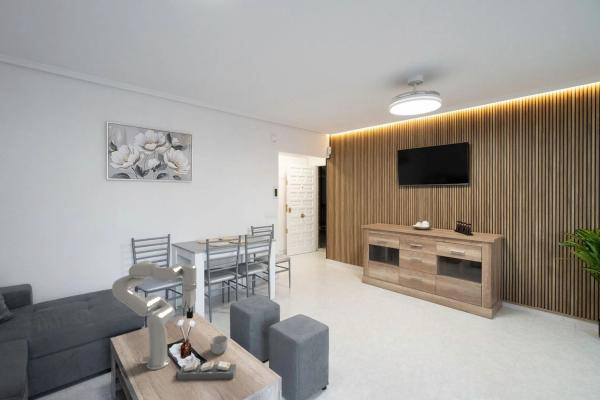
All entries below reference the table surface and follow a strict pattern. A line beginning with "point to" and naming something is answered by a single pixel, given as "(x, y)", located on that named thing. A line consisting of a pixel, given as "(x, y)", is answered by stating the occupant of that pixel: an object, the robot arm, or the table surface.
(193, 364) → the rocker
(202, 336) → the table surface
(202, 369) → the rocker
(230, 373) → the grey rectangular tray
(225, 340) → the teacup
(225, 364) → the rocker
